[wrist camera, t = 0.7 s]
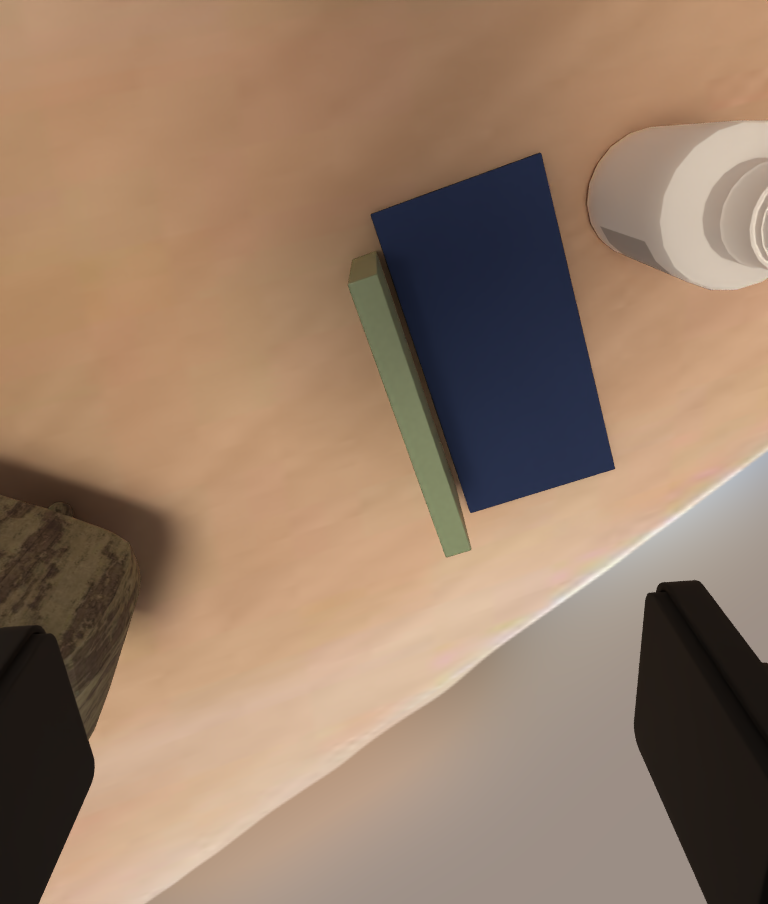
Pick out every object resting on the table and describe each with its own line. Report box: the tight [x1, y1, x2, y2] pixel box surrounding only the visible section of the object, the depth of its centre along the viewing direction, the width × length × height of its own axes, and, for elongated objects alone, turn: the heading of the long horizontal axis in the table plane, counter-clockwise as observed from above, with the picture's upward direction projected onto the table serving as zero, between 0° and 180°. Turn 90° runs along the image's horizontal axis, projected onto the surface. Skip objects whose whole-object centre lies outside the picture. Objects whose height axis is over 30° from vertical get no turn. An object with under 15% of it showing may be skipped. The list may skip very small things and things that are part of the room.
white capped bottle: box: [587, 120, 768, 290], centre depth 31 cm, size 7×7×18 cm
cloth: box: [371, 153, 615, 513], centre depth 43 cm, size 10×20×1 cm, turn 19°
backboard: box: [348, 251, 471, 557], centre depth 40 cm, size 2×16×8 cm, turn 19°
